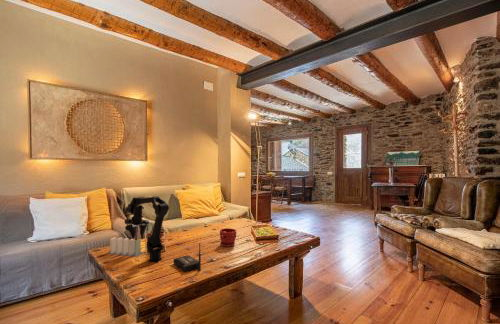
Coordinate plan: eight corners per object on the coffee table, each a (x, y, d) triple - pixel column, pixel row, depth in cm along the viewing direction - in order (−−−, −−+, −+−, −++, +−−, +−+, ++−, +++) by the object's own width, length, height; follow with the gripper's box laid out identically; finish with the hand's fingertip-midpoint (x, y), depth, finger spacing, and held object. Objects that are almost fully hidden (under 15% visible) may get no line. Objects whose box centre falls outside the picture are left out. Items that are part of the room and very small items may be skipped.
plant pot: (228, 248, 191) (228, 233, 191) (216, 245, 199) (216, 230, 199) (239, 244, 201) (239, 229, 201) (227, 241, 209) (227, 227, 209)
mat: (144, 253, 181) (144, 252, 181) (136, 257, 173) (136, 256, 173) (114, 250, 187) (114, 249, 187) (105, 254, 178) (105, 253, 178)
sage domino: (140, 252, 180) (140, 238, 180) (136, 255, 175) (136, 241, 175) (138, 252, 180) (138, 238, 180) (134, 255, 175) (134, 240, 175)
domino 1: (122, 251, 183) (122, 237, 183) (117, 253, 178) (117, 239, 178) (120, 251, 183) (121, 237, 183) (115, 253, 178) (115, 239, 178)
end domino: (116, 250, 184) (116, 237, 184) (111, 253, 179) (111, 239, 179) (115, 250, 184) (115, 237, 184) (109, 253, 179) (109, 239, 179)
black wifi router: (170, 265, 160) (171, 238, 160) (190, 260, 169) (190, 234, 169) (185, 276, 145) (185, 246, 145) (206, 269, 154) (206, 241, 154)
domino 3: (134, 252, 181) (134, 238, 181) (129, 254, 176) (129, 240, 176) (132, 252, 181) (133, 238, 181) (128, 254, 176) (128, 240, 176)
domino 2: (128, 251, 182) (128, 238, 182) (123, 254, 177) (123, 240, 177) (126, 251, 182) (126, 237, 182) (122, 254, 177) (122, 240, 177)
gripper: (136, 211, 188) (136, 232, 188) (118, 216, 170) (118, 239, 170) (149, 212, 186) (149, 233, 186) (132, 217, 168) (132, 241, 168)
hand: (137, 236), depth 178 cm, fingers open, 9 cm apart
